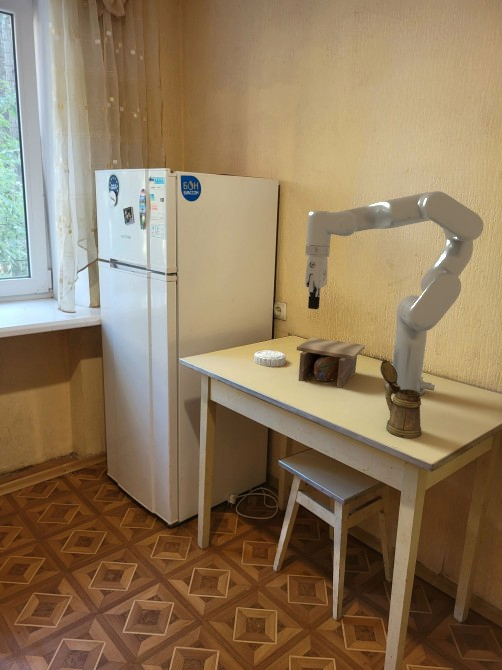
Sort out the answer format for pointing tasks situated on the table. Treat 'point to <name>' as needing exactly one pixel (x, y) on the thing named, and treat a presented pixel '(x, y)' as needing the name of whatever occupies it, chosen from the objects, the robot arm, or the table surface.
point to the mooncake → (269, 358)
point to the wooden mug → (401, 405)
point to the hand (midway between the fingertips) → (313, 308)
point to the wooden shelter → (324, 347)
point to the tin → (326, 368)
